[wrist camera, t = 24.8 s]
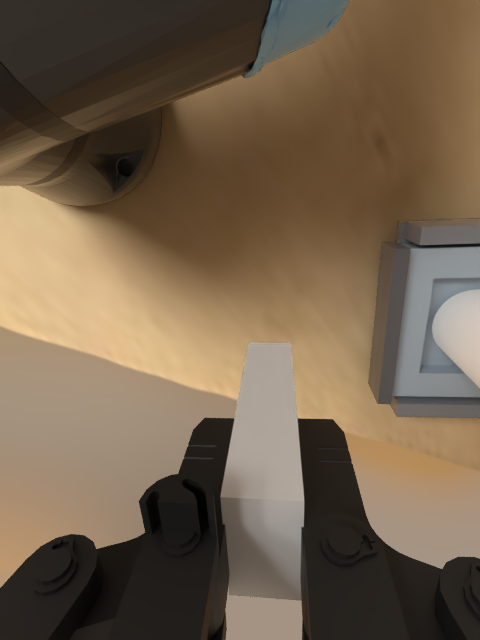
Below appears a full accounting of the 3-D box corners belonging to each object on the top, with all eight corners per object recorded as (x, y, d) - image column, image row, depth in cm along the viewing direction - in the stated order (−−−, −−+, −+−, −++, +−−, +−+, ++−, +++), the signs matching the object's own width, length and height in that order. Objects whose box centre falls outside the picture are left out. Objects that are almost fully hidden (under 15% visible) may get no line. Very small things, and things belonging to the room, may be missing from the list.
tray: (368, 383, 36) (377, 403, 33) (381, 242, 31) (394, 249, 27) (528, 384, 34) (555, 406, 31) (571, 235, 29) (609, 242, 26)
